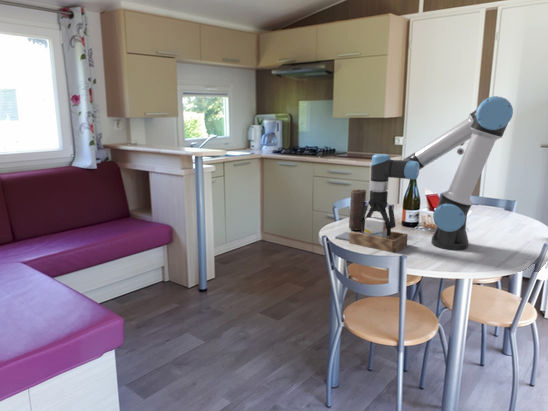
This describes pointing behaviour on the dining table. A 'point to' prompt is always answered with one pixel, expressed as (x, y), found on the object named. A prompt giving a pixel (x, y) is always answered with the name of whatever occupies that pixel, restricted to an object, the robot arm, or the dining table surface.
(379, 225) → the ink box
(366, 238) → the wooden tray
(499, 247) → the dining table surface
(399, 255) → the dining table surface
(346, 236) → the slate pad
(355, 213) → the candle
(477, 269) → the dining table surface
